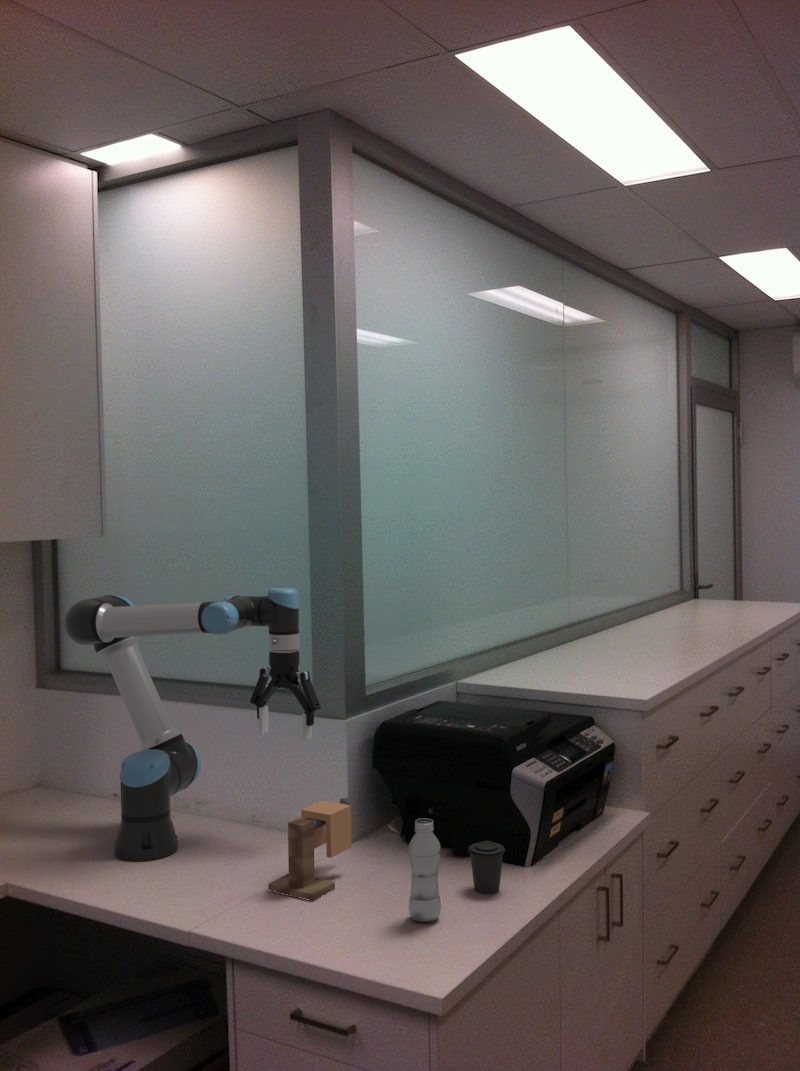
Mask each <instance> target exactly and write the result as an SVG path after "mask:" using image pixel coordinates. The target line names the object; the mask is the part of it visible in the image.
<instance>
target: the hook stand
mask: <svg viewBox="0 0 800 1071" xmlns="http://www.w3.org/2000/svg"><path fill="white" fill-rule="evenodd" d="M339 803H340V804H346V805H351V798H349V797H342V798H339ZM325 824H326V821H322V820H316V819H314V820H308V819H303V818H301V817H298V818H295V819H293V820H291V821H289V822H288V823H287V833H288V834H287V839H288V840H287V841H288V842H287V845H288V846H287V848H288V853H287V855H288V873H286V874H285V875H283V876H281V877H279V878H277V879H275V880H274V881H271V882H270V883H268V891H269V890H271V891H270V892H272V891H276V892H279V893H278V894H280V893H284V894H288V895H292V896H291V897H293V896H296V897H295V898H297V897H301V898H305V899H309V900H312V901H311V902H315V901H317V900H319V899H320V898H322V897H323V896H322V895H324V896H325V895H327V894H329V893H330V891H331V892H333V890H334V891H335V889H336V882H335V881H331V880H329V879H328V880H327V879H322V878H318V877H315V875H316V873H315V849H314V830H315V829H317V828H319V827H321V826H323V825H325ZM276 892H275V893H276ZM328 892H329V893H328ZM326 893H327V894H326ZM284 894H283V895H284ZM288 895H287V896H288ZM321 896H322V897H321ZM319 897H320V898H319ZM301 898H300V899H301ZM305 899H304V900H305ZM316 899H317V900H316ZM309 900H308V901H309ZM314 900H315V901H314Z"/></svg>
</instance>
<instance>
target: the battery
mask: <svg viewBox="0 0 800 1071" xmlns="http://www.w3.org/2000/svg"><path fill="white" fill-rule="evenodd" d="M457 835H458V833H457V834H456V833H454V834H453V833H452V853H453V855H454V854H459V855H458V856H460V855H465V856H464V857H467V856H469V857H471V856H470V852H469V851H468V848H469V842H468V839H466V837H464V836H463V837H462V835H461V836H460V834H459V835H458V836H457Z"/></svg>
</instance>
